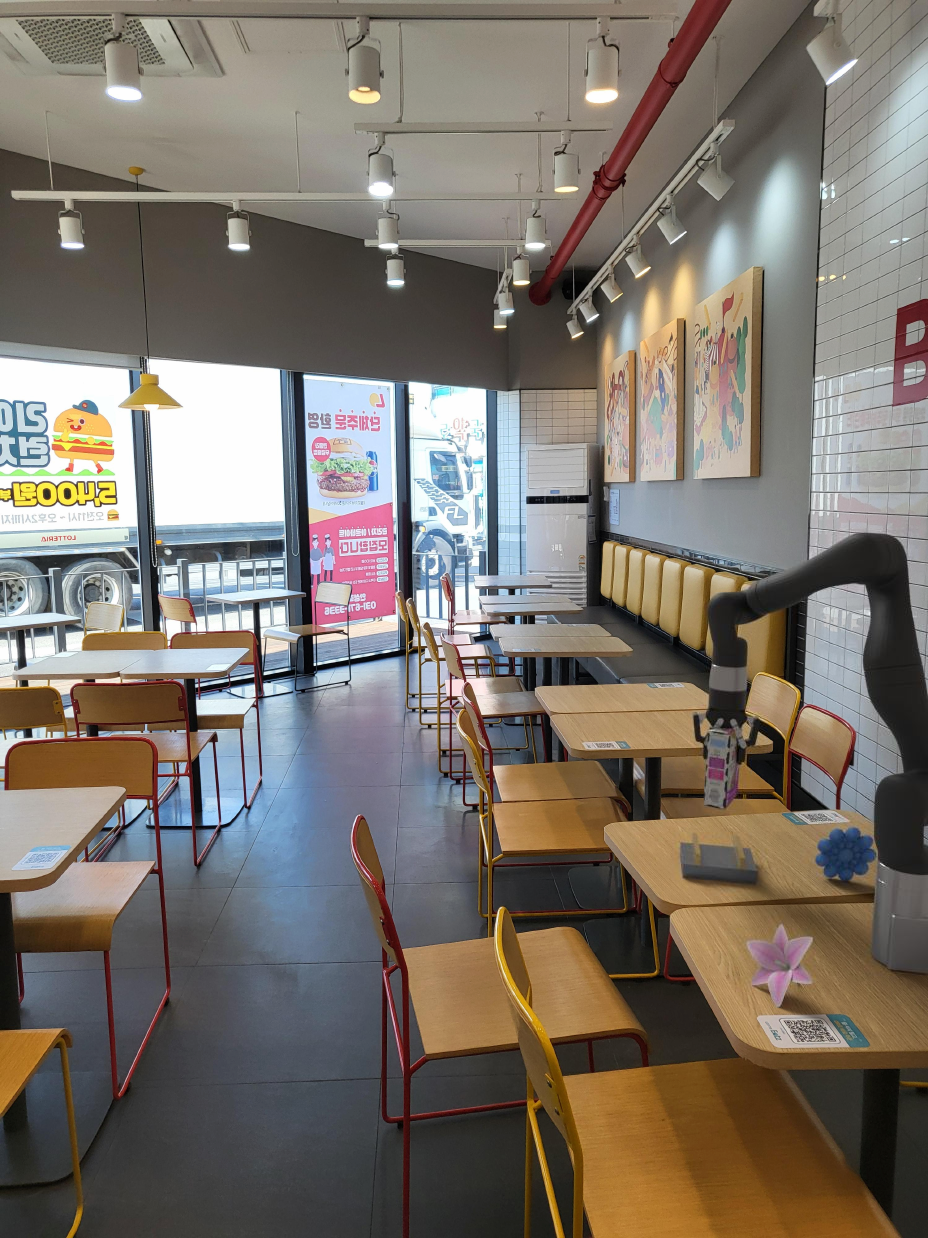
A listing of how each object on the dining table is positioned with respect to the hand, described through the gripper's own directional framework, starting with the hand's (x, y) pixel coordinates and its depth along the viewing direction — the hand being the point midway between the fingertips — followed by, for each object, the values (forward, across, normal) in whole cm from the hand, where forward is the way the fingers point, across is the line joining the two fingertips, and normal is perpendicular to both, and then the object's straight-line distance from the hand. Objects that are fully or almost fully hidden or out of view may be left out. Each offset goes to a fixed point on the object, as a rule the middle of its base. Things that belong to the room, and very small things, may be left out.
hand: (723, 762), depth 176 cm
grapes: (+24, +26, +1) cm, 35 cm away
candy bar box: (+9, 0, 0) cm, 9 cm away
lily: (+24, +6, -46) cm, 52 cm away
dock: (+24, 0, 0) cm, 24 cm away
